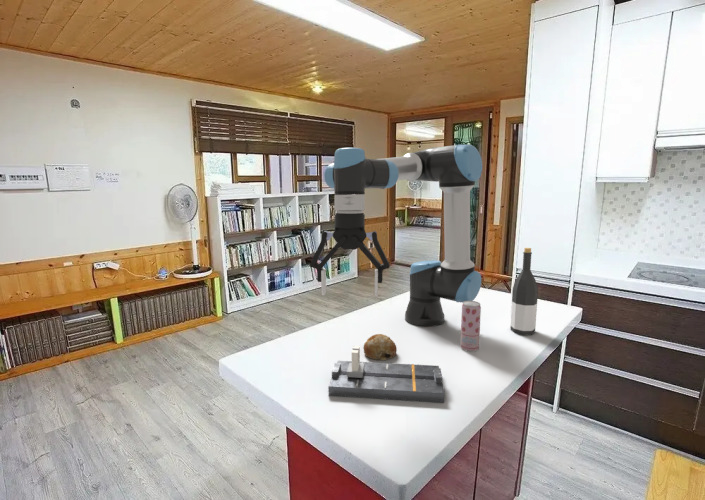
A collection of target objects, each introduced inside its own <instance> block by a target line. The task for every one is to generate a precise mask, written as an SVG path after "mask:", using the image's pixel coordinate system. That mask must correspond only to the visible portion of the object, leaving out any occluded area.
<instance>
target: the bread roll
mask: <svg viewBox="0 0 705 500" xmlns="http://www.w3.org/2000/svg"><path fill="white" fill-rule="evenodd" d="M363 354H364V355H365V356H366V357H367V358H369V359H371V360H375V361H383V362H384V361H386V360H389V359H391V358H394V357H395V356H396V354H397V344H396V343H395V342H394V340H393V339H392V338H391V337H390V336H388V335H386V334H383V333H377V334H373V335H371V336H370V337H368V338H367V339H366V341H365V342H364V345H363Z"/></svg>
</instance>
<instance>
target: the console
mask: <svg viewBox="0 0 705 500" xmlns="http://www.w3.org/2000/svg"><path fill="white" fill-rule="evenodd" d="M349 363H352V360H337V362H334V364H333V367H332V370H331V377H330V378H331V379H330V381H329V384H328V386H327V387H328V388H327V389H328V391H327V392H328V396H329V397H331V396H332V397H344V398H345V397H346V398H360V399H361V398H363V399H379V400H394V401H405V402H406V401H410V402H425V403H441V404H444V403H445V390H444V385H443V374H442V369H441V367H440V365H431V364H430V365H429V364H414V363H411V364H410V363H390V362H389V363H388V362H371V361H369V362H367V361H360V363H364V373H363V378H356V377H347V370H348V366H349Z"/></svg>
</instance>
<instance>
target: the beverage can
mask: <svg viewBox="0 0 705 500" xmlns="http://www.w3.org/2000/svg"><path fill="white" fill-rule="evenodd" d="M481 310H482V307H481V303H480V302H479V301H475V300H473V301H464V302H463V303H462V304H461V325H460V326H461V327H460V342H459V343H460V344H459V345H460V349H461V350H463V351H466V352H472V353H473V352H477V351H478V350H480V333H481V332H480V331H481V315H482V314H481V313H482V311H481Z"/></svg>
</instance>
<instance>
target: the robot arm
mask: <svg viewBox="0 0 705 500" xmlns="http://www.w3.org/2000/svg"><path fill="white" fill-rule="evenodd" d="M482 161H483V160H482V157H481V154H480V152H479V151H478V149H477V148H476V147H475V146H474V145H472V144H456V145H447V146H440V147H439V146H437V147H430V148H426V149H422V150H418V151H414V152H408V153H406V154H404V155H403V156H396V157H386V158H376V159H375V158H366V154H365V150H364V149H363V148H359V147H340V148H338V149H336V150H335V152H334V158H333V163H330V164H329V165H327V167H326V168H325V169H324V174H323V175H324V177H323V178H324V181H325V184H326V185H327V186H328V187H329V188H330V189H334V211H336V213H334V230H333V232H331V231H328V230H324V231H323V232H322V234H321V240H320V243H319V244H318V247H317V249H316V250H315V253H314V255H313V256H312V257H313V258H312V259H311V261H310V263H309V267H310V268H313V269H316V275H317V276H316V280H317V282H318V283H321V285H320V286H321V289H320V291H321V296H326V294H327V275H326V274H327V273H326V272H327V269H326V268H324V266H325V265H326V264H327V263H328V261H329V260H331V258H332V257H333V256H334V255H335V254H336V253H337V251H338V250H339V249H340V248H341V250H342V249H343V250H356V249H359V250H360V251H361V252H362V253H363V254H364V255H365V257H366V258H367V259H368V260H369V261H370V263H372V265H373V266H374V267H375V269H374V297H379V284H382V283H383V272H384V271H385V270H387V269H389V268H390V262H389V261H388V258H387V256H386V254H385V252H384V250H383V248H382V246H381V244H380V242H379V240H378V232H377V231H376V230H373V231H372V232H371V231H370V232H366V230H365V223H366V221H365V219H366V218H365V217H366V216H365V214H364V213H363V211H365V206H366V205H365V204H366V203H365V201H366V195H365V194H366V193H365V190H366V189H380V190H385V189H391V188H392V187H394V186H395V185H396V183H398V181H403V180H406V181H409V182H415V181H416V182H417V181H421V182H438V186H439V187H438V188H439V189H440V190H441V191H442V192H443V221H444V222H443V224H444V225H443V229H444V231H443V232H444V234H443V235H444V260H443V261H440V260H422V261H416V262H413V263H412V264H411V265H410V270H409V301H408V304H407V307H406V310H405V313H404V319H405V321H406V322H407V323H409V324H412V325H415V326H420V327H435V326H439V325H443V323H444V322H445V312H444V310H443V307H442V303H441V299H444V300H449V301H453V302H456V303H462V304H463V302H464V301H475V299H476V298H477V296H478V295H479V292H480V290H481V287H482V275H481V273H480V272H479V271H477V270H476V269H475V265H476V264H475V263H474V262H473V261H472V260H471V190H472V189H473V188H474V187H475V184H476V181H477V180H479V179H480V178H481V175H482V173H483V162H482ZM331 238H333V239H334V241H335V242H336V243H335V245H334V246H333V247H332V248H331V249H330V250H329V252H328V253H326V255H325V257H323V259H322V260H321V261H320V262H318V261H319V259H320V257H321V254H322V252H324V249H325V246H326V244H327V243H328V241H329V240H331ZM367 238H368V239H369V241H371V242H372V243H373V245H374V248H375V250H376V252H377V253H378V256H379V259H380V260H381V262H382V263H381V262H380V261H379V260H378V259H377V257H376V256H375V255H374V254H373V252H371V251H370V249H369V248H368V247H367V246H366V245H365V243H364V242H365V240H366V239H367Z"/></svg>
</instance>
